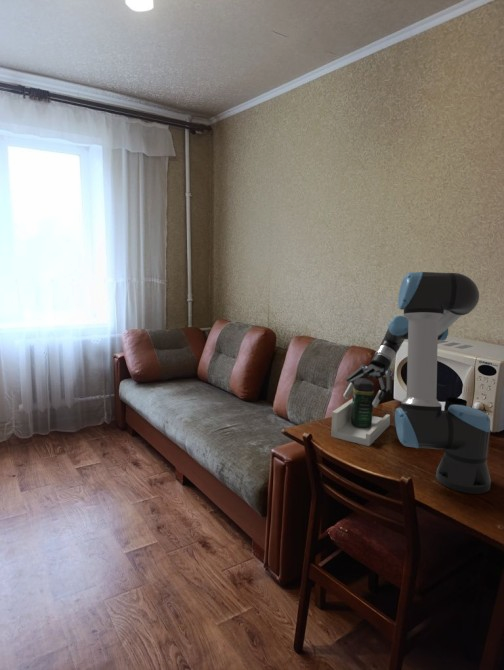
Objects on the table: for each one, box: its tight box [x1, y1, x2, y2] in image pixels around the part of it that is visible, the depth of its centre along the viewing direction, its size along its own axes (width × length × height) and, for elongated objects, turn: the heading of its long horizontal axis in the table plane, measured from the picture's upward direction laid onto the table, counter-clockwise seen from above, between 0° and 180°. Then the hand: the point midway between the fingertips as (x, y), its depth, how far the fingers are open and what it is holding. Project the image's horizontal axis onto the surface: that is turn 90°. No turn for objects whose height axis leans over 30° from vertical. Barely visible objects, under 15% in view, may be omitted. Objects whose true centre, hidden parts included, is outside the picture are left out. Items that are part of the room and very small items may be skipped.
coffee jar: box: [351, 378, 375, 428], centre depth 172 cm, size 10×8×19 cm
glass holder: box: [443, 396, 479, 411], centre depth 166 cm, size 9×14×15 cm, turn 36°
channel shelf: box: [330, 397, 391, 447], centre depth 173 cm, size 26×15×10 cm, turn 147°
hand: (359, 401), depth 170 cm, fingers open, 13 cm apart
